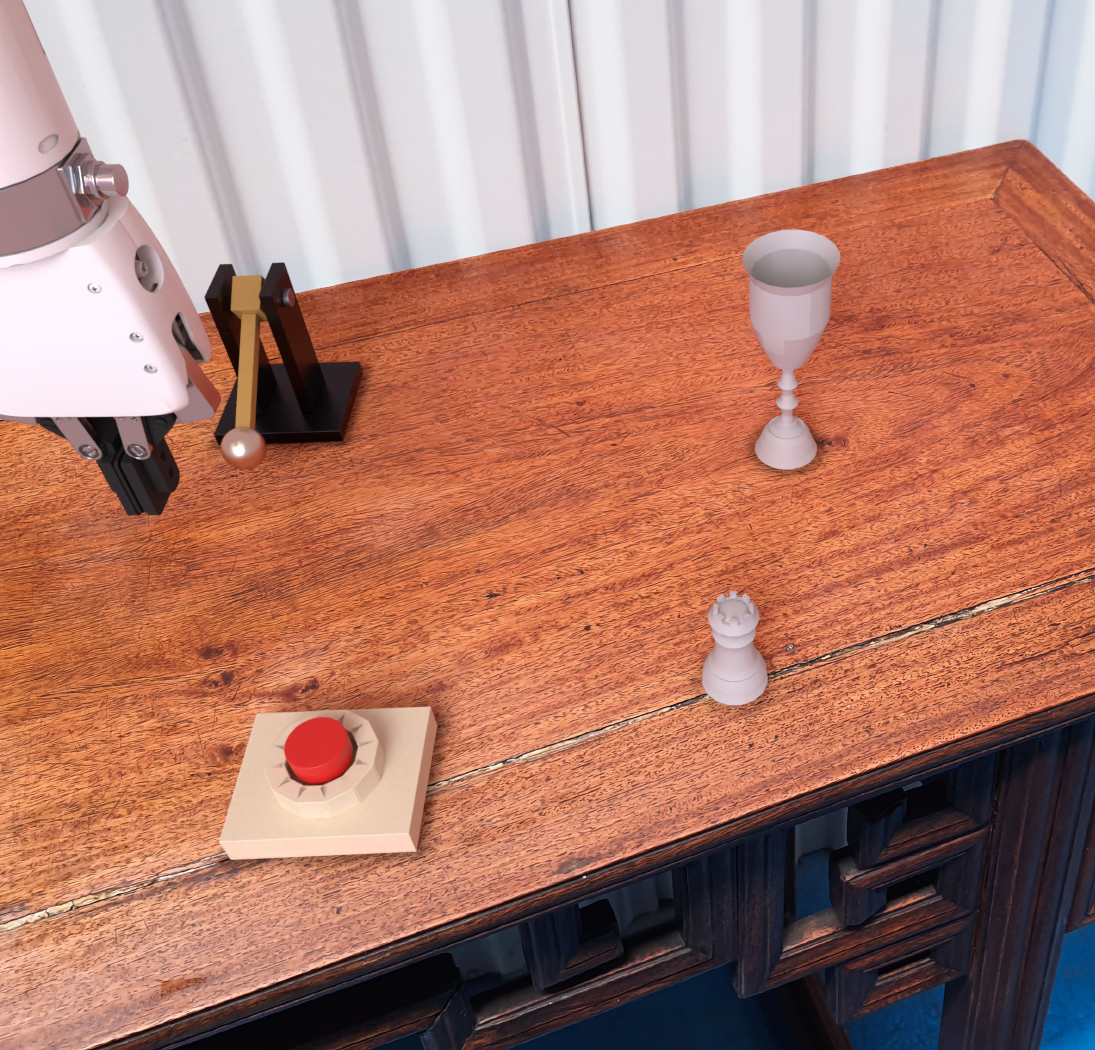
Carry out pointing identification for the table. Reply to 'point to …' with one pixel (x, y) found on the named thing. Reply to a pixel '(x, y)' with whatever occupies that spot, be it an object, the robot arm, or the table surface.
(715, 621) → the rook chess piece
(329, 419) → the switch bracket
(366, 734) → the control box
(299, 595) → the table surface
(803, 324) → the chalice
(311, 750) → the red button
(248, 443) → the switch lever
